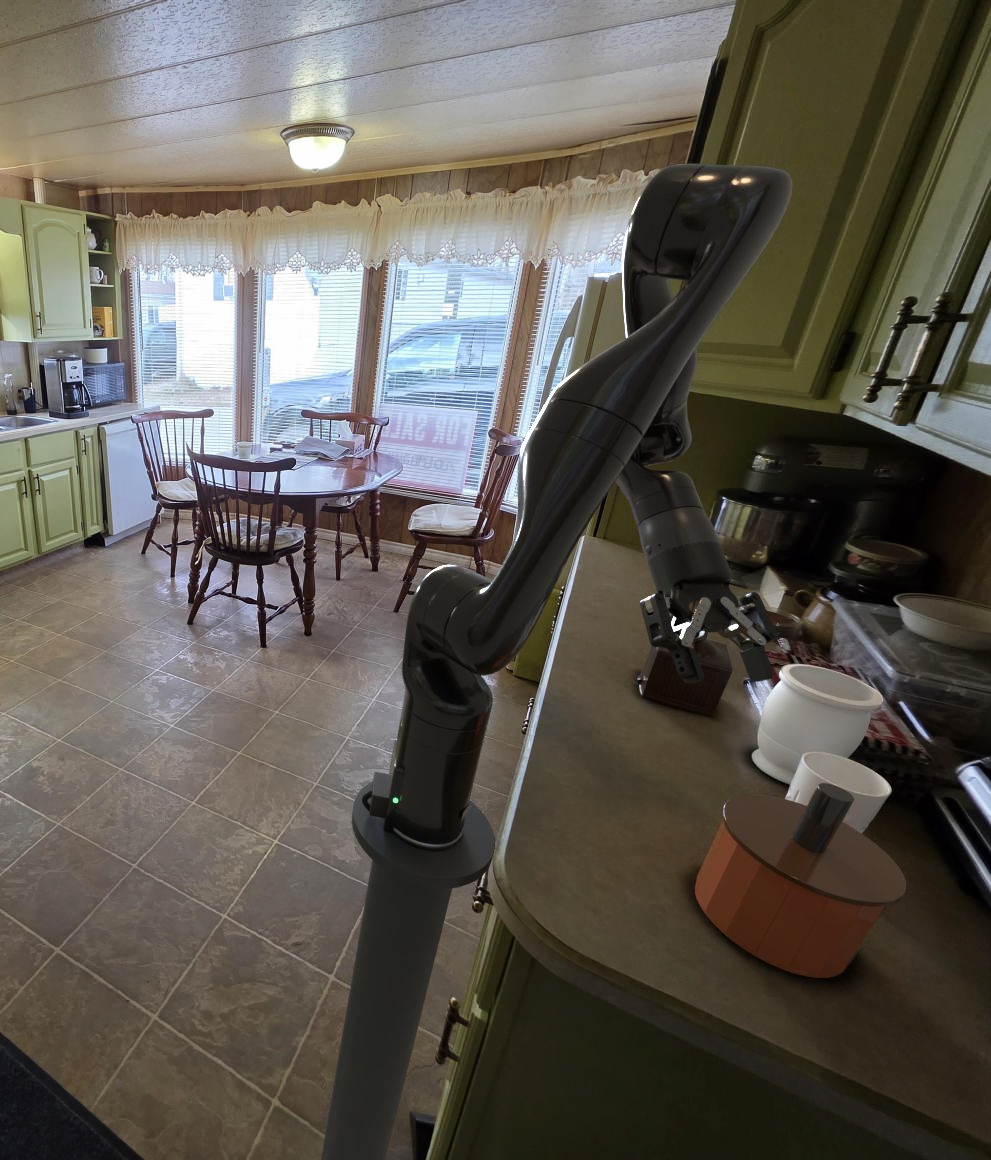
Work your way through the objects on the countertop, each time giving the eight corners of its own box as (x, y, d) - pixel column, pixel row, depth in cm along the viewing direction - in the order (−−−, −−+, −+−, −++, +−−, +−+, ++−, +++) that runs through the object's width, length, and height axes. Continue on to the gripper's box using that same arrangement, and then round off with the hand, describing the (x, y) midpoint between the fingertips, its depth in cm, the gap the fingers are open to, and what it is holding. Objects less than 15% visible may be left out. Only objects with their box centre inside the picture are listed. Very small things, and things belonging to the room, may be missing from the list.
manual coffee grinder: (636, 670, 114) (666, 582, 107) (709, 689, 108) (746, 597, 101) (634, 710, 102) (669, 613, 95) (717, 734, 96) (759, 633, 89)
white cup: (857, 837, 77) (893, 775, 73) (851, 871, 72) (890, 806, 68) (776, 803, 82) (806, 743, 78) (766, 832, 77) (797, 770, 74)
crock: (726, 957, 62) (765, 882, 58) (676, 859, 73) (705, 790, 69) (880, 994, 59) (933, 918, 55) (803, 886, 70) (842, 816, 66)
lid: (759, 889, 58) (791, 827, 55) (697, 790, 70) (720, 735, 67) (941, 928, 54) (986, 865, 51) (842, 818, 67) (874, 761, 64)
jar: (840, 807, 82) (892, 714, 76) (743, 774, 88) (784, 685, 82) (829, 766, 90) (875, 679, 84) (741, 738, 95) (778, 655, 90)
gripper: (652, 539, 71) (699, 675, 65) (761, 539, 73) (817, 672, 67) (608, 564, 78) (647, 689, 72) (709, 564, 80) (755, 686, 74)
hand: (728, 681), depth 70 cm, fingers open, 8 cm apart
